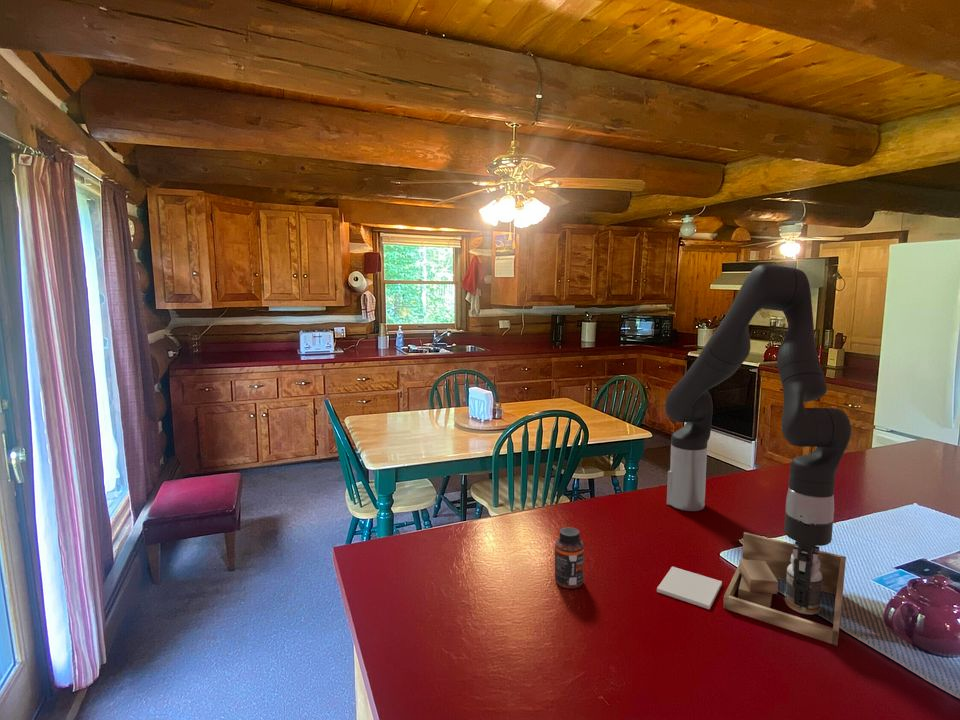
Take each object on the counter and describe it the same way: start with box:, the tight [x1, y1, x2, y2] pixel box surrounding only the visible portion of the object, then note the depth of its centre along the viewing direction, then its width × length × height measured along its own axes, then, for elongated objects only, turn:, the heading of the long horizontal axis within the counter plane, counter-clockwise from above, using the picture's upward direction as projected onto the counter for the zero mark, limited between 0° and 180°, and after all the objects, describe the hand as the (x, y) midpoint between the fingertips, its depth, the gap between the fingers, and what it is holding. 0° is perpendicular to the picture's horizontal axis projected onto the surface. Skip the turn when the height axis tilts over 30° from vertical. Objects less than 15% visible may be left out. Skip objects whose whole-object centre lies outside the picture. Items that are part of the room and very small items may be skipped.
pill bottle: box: [784, 554, 823, 616], centre depth 98 cm, size 6×6×10 cm
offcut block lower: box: [737, 577, 774, 609], centre depth 103 cm, size 6×9×3 cm, turn 147°
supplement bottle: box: [554, 526, 585, 590], centre depth 108 cm, size 6×6×11 cm
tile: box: [656, 566, 723, 610], centre depth 106 cm, size 10×10×1 cm
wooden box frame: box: [722, 531, 847, 646], centre depth 100 cm, size 18×18×8 cm
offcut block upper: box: [738, 558, 779, 595], centre depth 103 cm, size 5×8×2 cm, turn 168°
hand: (802, 596), depth 99 cm, fingers closed on pill bottle, 5 cm apart
